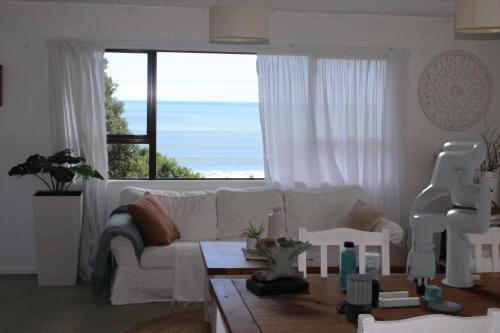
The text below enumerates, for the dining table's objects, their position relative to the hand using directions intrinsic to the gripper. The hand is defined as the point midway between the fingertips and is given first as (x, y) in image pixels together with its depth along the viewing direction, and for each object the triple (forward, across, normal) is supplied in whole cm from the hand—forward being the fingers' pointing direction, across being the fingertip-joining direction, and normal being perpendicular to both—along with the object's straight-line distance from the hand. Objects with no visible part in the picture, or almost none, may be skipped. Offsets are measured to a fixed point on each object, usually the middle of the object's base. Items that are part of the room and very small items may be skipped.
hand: (420, 295), depth 247 cm
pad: (+2, -5, +9) cm, 11 cm away
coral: (+2, +47, -23) cm, 52 cm away
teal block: (+2, -4, 0) cm, 5 cm away
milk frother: (+2, +33, +13) cm, 35 cm away
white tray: (+2, +10, 0) cm, 10 cm away
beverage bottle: (+2, +22, -18) cm, 29 cm away
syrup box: (+2, +11, -20) cm, 23 cm away
